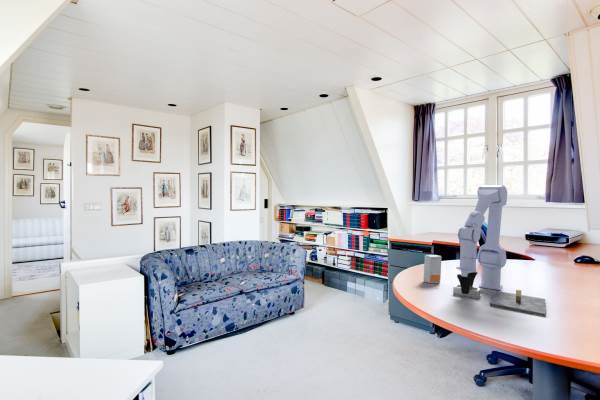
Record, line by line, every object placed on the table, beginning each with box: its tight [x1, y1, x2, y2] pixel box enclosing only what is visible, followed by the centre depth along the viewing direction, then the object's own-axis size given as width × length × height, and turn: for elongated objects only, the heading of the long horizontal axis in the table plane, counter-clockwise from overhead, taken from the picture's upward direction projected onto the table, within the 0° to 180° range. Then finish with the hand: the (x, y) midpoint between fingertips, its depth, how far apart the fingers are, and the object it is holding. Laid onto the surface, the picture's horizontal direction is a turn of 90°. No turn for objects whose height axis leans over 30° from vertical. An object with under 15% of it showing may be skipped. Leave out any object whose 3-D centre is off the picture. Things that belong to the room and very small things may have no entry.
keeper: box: [489, 289, 547, 318], centre depth 122 cm, size 20×16×5 cm
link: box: [452, 283, 482, 300], centre depth 131 cm, size 9×5×3 cm, turn 54°
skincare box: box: [423, 254, 443, 284], centre depth 149 cm, size 6×4×12 cm
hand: (466, 291), depth 131 cm, fingers open, 7 cm apart
